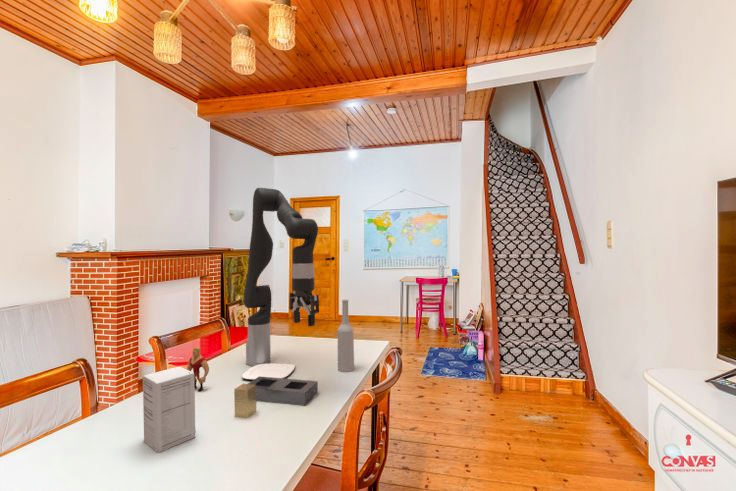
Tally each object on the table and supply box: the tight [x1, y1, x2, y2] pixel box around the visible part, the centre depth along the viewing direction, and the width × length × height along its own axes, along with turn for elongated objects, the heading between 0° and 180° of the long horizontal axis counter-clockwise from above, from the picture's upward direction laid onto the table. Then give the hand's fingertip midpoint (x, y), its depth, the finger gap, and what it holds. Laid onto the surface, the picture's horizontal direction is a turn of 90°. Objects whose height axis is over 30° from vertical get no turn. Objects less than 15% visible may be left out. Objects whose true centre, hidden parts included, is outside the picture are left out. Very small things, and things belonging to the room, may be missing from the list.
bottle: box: [337, 299, 355, 373], centre depth 144 cm, size 7×7×28 cm
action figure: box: [186, 346, 210, 392], centre depth 125 cm, size 10×4×15 cm, turn 70°
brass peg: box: [233, 383, 257, 419], centre depth 106 cm, size 4×4×8 cm
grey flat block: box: [247, 376, 319, 407], centre depth 118 cm, size 22×10×4 cm, turn 76°
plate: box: [241, 362, 296, 381], centre depth 140 cm, size 18×18×2 cm
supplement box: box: [142, 366, 196, 453], centre depth 92 cm, size 10×9×17 cm
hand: (304, 324), depth 122 cm, fingers open, 8 cm apart
